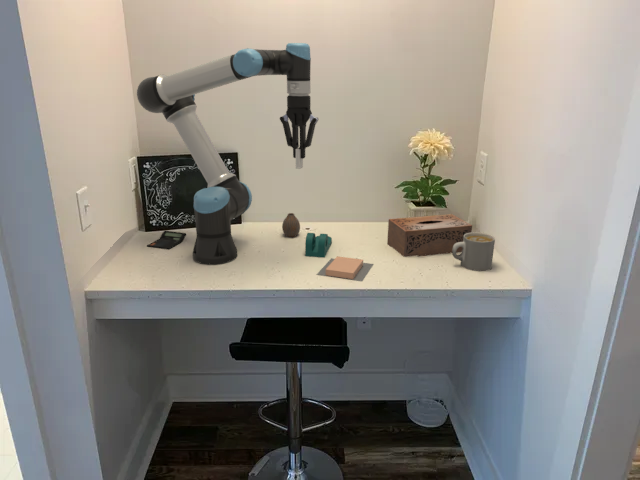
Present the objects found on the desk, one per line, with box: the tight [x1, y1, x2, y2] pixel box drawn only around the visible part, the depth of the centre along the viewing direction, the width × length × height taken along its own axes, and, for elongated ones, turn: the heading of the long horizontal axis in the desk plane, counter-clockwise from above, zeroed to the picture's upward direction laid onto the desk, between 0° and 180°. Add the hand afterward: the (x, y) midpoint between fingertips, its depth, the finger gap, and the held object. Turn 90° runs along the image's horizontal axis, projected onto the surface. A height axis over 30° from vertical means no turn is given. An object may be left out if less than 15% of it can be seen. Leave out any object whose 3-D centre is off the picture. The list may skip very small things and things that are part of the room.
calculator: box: [146, 230, 187, 251], centre depth 187 cm, size 9×12×3 cm
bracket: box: [304, 232, 333, 258], centre depth 182 cm, size 18×7×8 cm, turn 169°
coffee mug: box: [451, 231, 496, 272], centre depth 167 cm, size 13×10×10 cm
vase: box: [281, 212, 301, 238], centre depth 195 cm, size 7×7×9 cm
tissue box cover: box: [387, 213, 473, 258], centre depth 183 cm, size 26×14×10 cm, turn 106°
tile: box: [326, 256, 364, 280], centre depth 163 cm, size 9×2×12 cm
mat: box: [316, 257, 375, 282], centre depth 164 cm, size 15×15×1 cm
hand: (299, 167), depth 169 cm, fingers closed
